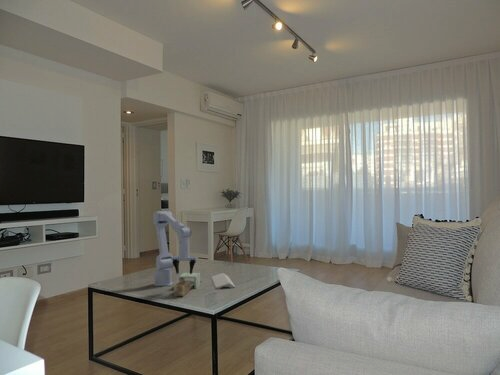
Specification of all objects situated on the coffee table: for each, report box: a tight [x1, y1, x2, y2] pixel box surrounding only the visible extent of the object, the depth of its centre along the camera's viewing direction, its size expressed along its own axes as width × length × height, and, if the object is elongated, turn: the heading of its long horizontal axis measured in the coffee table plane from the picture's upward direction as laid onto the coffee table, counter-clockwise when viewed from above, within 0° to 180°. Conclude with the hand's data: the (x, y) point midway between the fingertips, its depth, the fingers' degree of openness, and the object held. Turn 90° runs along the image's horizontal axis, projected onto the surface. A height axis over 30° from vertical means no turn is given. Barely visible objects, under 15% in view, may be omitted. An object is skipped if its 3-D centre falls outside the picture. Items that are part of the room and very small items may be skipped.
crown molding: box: [210, 272, 237, 290], centre depth 215 cm, size 29×12×4 cm, turn 12°
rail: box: [175, 283, 194, 298], centre depth 199 cm, size 3×30×1 cm, turn 175°
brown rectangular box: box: [173, 280, 191, 297], centre depth 191 cm, size 5×12×5 cm, turn 175°
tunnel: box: [178, 272, 201, 289], centre depth 207 cm, size 10×10×7 cm
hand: (184, 273), depth 198 cm, fingers open, 7 cm apart
